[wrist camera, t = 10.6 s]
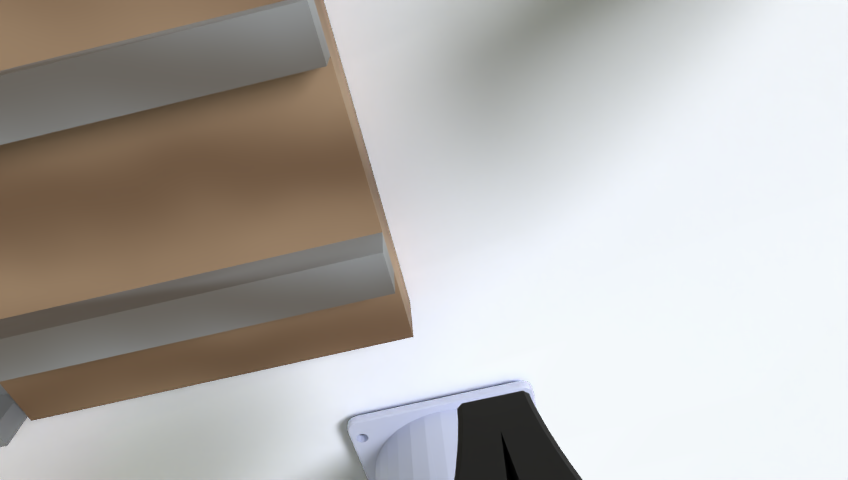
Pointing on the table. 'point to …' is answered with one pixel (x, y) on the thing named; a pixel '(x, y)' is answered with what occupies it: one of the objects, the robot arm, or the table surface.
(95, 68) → the slot bed
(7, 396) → the tray
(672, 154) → the table surface
